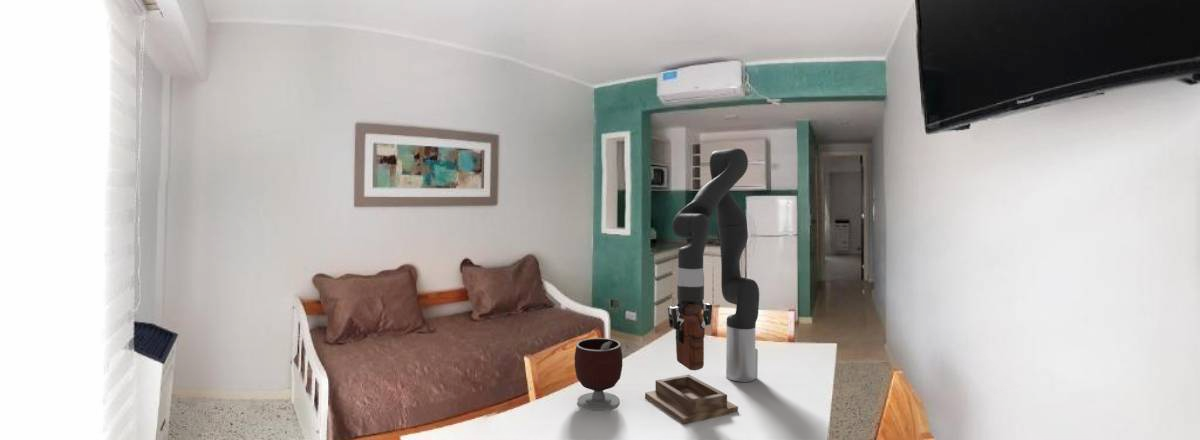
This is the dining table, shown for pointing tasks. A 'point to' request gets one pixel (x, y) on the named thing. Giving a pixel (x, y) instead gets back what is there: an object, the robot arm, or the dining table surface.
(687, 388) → the cradle
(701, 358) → the wooden figurine
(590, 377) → the mate gourd
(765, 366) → the dining table surface
